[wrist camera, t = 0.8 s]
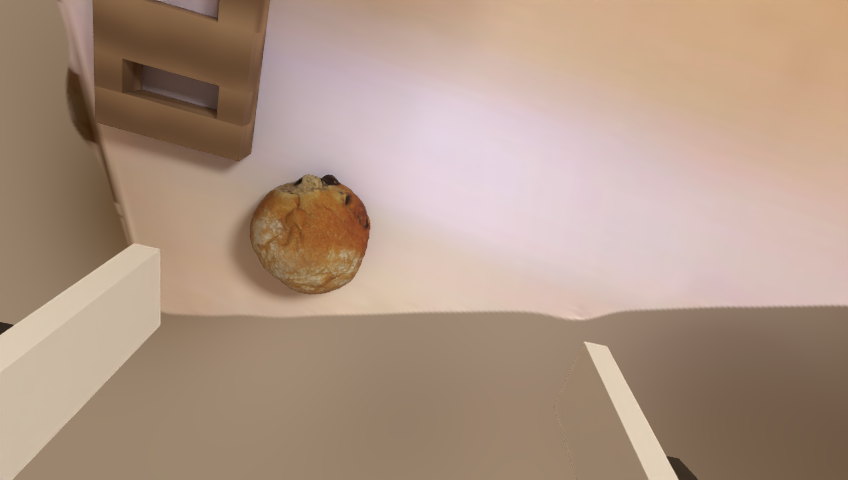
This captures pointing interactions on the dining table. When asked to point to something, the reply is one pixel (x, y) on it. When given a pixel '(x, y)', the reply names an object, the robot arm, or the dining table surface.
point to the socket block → (180, 70)
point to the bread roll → (311, 234)
